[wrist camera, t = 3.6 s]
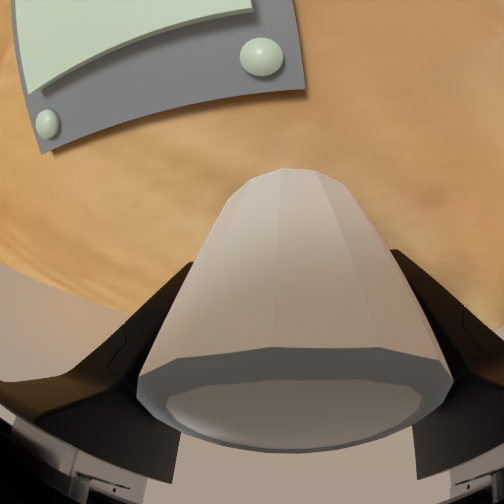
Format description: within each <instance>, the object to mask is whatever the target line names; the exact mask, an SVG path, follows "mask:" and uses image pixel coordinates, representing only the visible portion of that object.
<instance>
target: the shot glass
mask: <svg viewBox="0 0 504 504" xmlns="http://www.w3.org/2000/svg"><path fill="white" fill-rule="evenodd" d="M453 382H454V381H453V378H452V375H451V373H450V370H449V368H448V365H447V363H446V361H445V358H444V356H443V353H442V351H441V349H440V346H439V344H438V342H437V340H436V338H435V335H434V333H433V331H432V329H431V327H430V325H429V323H428V320H427V318H426V316H425V314H424V312H423V310H422V308H421V306H420V304H419V302H418V300H417V298H416V297H415V295H414V293H413V291H412V289H411V287H410V285H409V283H408V282H407V280H406V278H405V276H404V274H403V273H402V271H401V269H400V267H399V265H398V264H397V262H396V260H395V259H394V257H393V255H392V253H391V252H390V250H389V248H388V247H387V245H386V244H385V242H384V240H383V239H382V237H381V235H380V234H379V232H378V231H377V229H376V227H375V226H374V224H373V223H372V221H371V220H370V218H369V217H368V215H367V214H366V212H365V211H364V209H363V208H362V206H361V205H360V204H359V202H358V201H357V200H356V199H355V197H354V196H353V195H352V194H351V192H350V191H349V190H348V189H347V188H346V186H345V185H344V184H342V183H340V182H338V181H336V180H334V179H332V178H330V177H328V176H326V175H324V174H322V173H320V172H318V171H316V170H304V169H286V168H281V169H278V170H275V171H272V172H269V173H266V174H263V175H260V176H257V177H254V178H251V179H250V180H248V181H247V182H246V183H245V184H244V185H243V186H242V187H241V188H240V189H238V190H237V191H236V192H235V193H234V194H233V195H232V196H231V197H230V198H229V199H228V200H227V202H226V204H225V205H224V207H223V209H222V211H221V213H220V214H219V216H218V218H217V220H216V222H215V224H214V225H213V227H212V229H211V231H210V233H209V235H208V237H207V238H206V240H205V242H204V244H203V246H202V248H201V250H200V252H199V254H198V255H197V257H196V259H195V261H194V263H193V265H192V267H191V269H190V271H189V273H188V275H187V277H186V279H185V281H184V283H183V285H182V286H181V288H180V290H179V292H178V294H177V296H176V298H175V300H174V302H173V304H172V307H171V309H170V311H169V313H168V315H167V317H166V319H165V321H164V323H163V325H162V327H161V329H160V331H159V333H158V335H157V338H156V340H155V342H154V344H153V346H152V348H151V350H150V352H149V355H148V357H147V359H146V361H145V363H144V365H143V368H142V370H141V372H140V374H139V377H138V386H137V397H136V398H137V399H138V400H139V401H140V402H141V403H142V405H143V406H144V407H145V408H146V409H147V410H148V411H149V412H150V413H151V414H152V415H153V416H154V417H155V418H157V419H158V420H160V421H162V422H164V423H165V424H167V425H169V426H171V427H173V428H175V429H176V430H178V431H180V432H182V433H184V434H187V435H190V436H193V437H196V438H199V439H202V440H205V441H208V442H211V443H215V444H218V445H222V446H226V447H231V448H237V449H244V450H250V451H257V452H264V453H312V452H322V451H331V450H338V449H342V448H347V447H352V446H356V445H360V444H364V443H367V442H371V441H375V440H378V439H381V438H384V437H387V436H389V435H391V434H394V433H396V432H398V431H400V430H403V429H405V428H407V427H409V426H411V425H413V424H415V423H417V422H419V421H420V420H421V419H423V418H424V417H425V416H427V415H428V414H429V413H431V412H432V411H433V410H434V409H436V408H437V407H438V406H440V405H441V404H442V403H443V401H444V399H445V397H446V395H447V394H448V392H449V390H450V388H451V386H452V384H453Z"/></svg>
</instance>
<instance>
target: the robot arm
mask: <svg viewBox="0 0 504 504" xmlns="http://www.w3.org/2000/svg"><path fill="white" fill-rule="evenodd" d="M390 252H391V253H392V255H393V257H394V259H395V260H396V262H397V264H398V265H399V267H400V269H401V271H402V273H403V274H404V276H405V278H406V280H407V282H408V283H409V285H410V287H411V289H412V291H413V293H414V295H415V297H416V298H417V300H418V302H419V304H420V306H421V308H422V310H423V312H424V314H425V316H426V318H427V320H428V323H429V325H430V327H431V329H432V331H433V333H434V335H435V338H436V340H437V342H438V344H439V346H440V349H441V351H442V353H443V356H444V358H445V361H446V363H447V365H448V368H449V370H450V373H451V375H452V378H453V381H454V382H453V384H452V386H451V388H450V390H449V392H448V394H447V395H446V397H445V399H444V401H443V403H442V404H441V405H440V406H438V407H437V408H436V409H434V410H433V411H432V412H431V413H429V414H428V415H427V416H425V417H424V418H423V419H421V420H420V421H419V422H417V423H415V424H413V425H412V430H413V438H414V447H415V458H416V470H417V480H420V479H423V478H427V477H430V476H433V475H436V474H440V473H442V472H445V471H448V470H450V479H451V488H450V499H449V500H446V501H444V502H441V503H438V504H504V340H502V339H501V338H500V337H499V336H498V335H496V334H495V333H494V332H493V331H492V330H491V329H489V328H488V327H487V326H486V325H485V324H484V323H482V322H481V321H480V320H479V319H478V318H477V317H476V316H475V315H474V314H472V313H471V312H470V311H469V310H468V309H467V308H466V307H464V305H463V304H462V303H461V302H459V301H458V300H457V299H456V298H455V297H454V296H453V295H452V294H451V293H449V292H448V291H447V290H446V289H445V288H444V287H443V286H442V285H440V284H439V283H438V282H437V281H436V280H435V279H433V278H432V277H431V276H430V275H429V274H427V273H426V272H425V271H424V270H423V269H421V268H420V267H419V266H418V265H417V264H415V263H414V262H413V261H412V260H410V259H409V258H408V257H407V256H405V255H404V254H403V253H402V252H400V251H399V250H397V249H391V250H390ZM193 263H194V262H189V263H188V264H187V265H185V266H184V267H183V268H182V269H181V270H180V271H179V272H178V273H177V274H176V275H175V276H173V277H172V278H171V279H170V280H169V281H168V282H167V283H166V284H165V285H164V286H163V287H162V288H161V289H160V290H158V291H157V292H156V293H155V294H154V295H153V296H152V297H151V298H150V299H149V300H148V301H147V302H146V303H145V304H144V305H143V306H142V307H140V308H139V309H138V310H137V311H136V312H135V313H134V314H133V315H132V316H131V317H130V318H129V319H128V320H127V321H126V322H125V324H123V325H122V326H121V327H120V328H119V329H118V330H117V331H116V332H115V333H113V335H111V336H110V337H109V338H108V339H107V340H106V341H105V342H104V343H102V344H101V345H100V346H99V347H98V348H97V349H95V350H94V351H93V352H92V353H91V354H90V355H88V356H87V357H86V358H85V359H84V360H82V361H81V362H80V363H79V364H78V365H76V366H75V367H74V368H73V369H71V370H70V371H68V372H67V373H65V374H62V375H59V376H55V377H50V378H42V379H35V380H28V381H19V382H3V381H1V380H0V404H1V405H2V406H4V407H5V408H6V409H8V410H9V411H10V412H12V413H13V414H14V415H16V417H15V420H14V423H13V425H11V424H10V423H8V422H7V421H5V420H3V419H2V418H0V504H142V502H143V498H144V492H145V488H146V483H147V478H150V479H153V480H157V481H161V482H165V483H169V484H172V480H173V474H174V469H175V463H176V457H177V452H178V446H179V440H180V435H181V432H180V431H178V430H176V429H175V428H173V427H171V426H169V425H167V424H165V423H164V422H162V421H160V420H158V419H157V418H155V417H154V416H153V415H152V414H151V413H150V412H149V411H148V410H147V409H146V408H145V407H144V406H143V405H142V403H141V402H140V401H139V400H138V399H137V398H136V397H137V386H138V377H139V374H140V372H141V370H142V368H143V365H144V363H145V361H146V359H147V357H148V355H149V352H150V350H151V348H152V346H153V344H154V342H155V340H156V338H157V335H158V333H159V331H160V329H161V327H162V325H163V323H164V321H165V319H166V317H167V315H168V313H169V311H170V309H171V307H172V304H173V302H174V300H175V298H176V296H177V294H178V292H179V290H180V288H181V286H182V285H183V283H184V281H185V279H186V277H187V275H188V273H189V271H190V269H191V267H192V265H193Z"/></svg>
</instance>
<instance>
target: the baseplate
mask: <svg viewBox="0 0 504 504" xmlns="http://www.w3.org/2000/svg"><path fill="white" fill-rule="evenodd" d="M11 12H12V26H13V36H14V44H15V51H16V58H17V64H18V69H19V75H20V80H21V84H22V89H23V93H24V97H25V101H26V105H27V109H28V113H29V116H30V120H31V123H32V127H33V130H34V133H35V136H36V139H37V142H38V145H39V148H40V151H41V154H44V153H46V152H48V151H51V150H53V149H55V148H57V147H60V146H62V145H64V144H67V143H69V142H71V141H74V140H76V139H79V138H81V137H84V136H86V135H89V134H92V133H94V132H97V131H100V130H102V129H105V128H108V127H111V126H114V125H117V124H120V123H123V122H126V121H129V120H133V119H136V118H139V117H143V116H146V115H150V114H153V113H157V112H161V111H165V110H169V109H173V108H177V107H181V106H186V105H190V104H195V103H200V102H205V101H210V100H216V99H221V98H227V97H233V96H240V95H247V94H255V93H263V92H273V91H283V90H297V89H306V88H305V79H304V71H303V64H302V56H301V49H300V42H299V36H298V29H297V23H296V17H295V12H294V6H293V1H292V0H11Z"/></svg>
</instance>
